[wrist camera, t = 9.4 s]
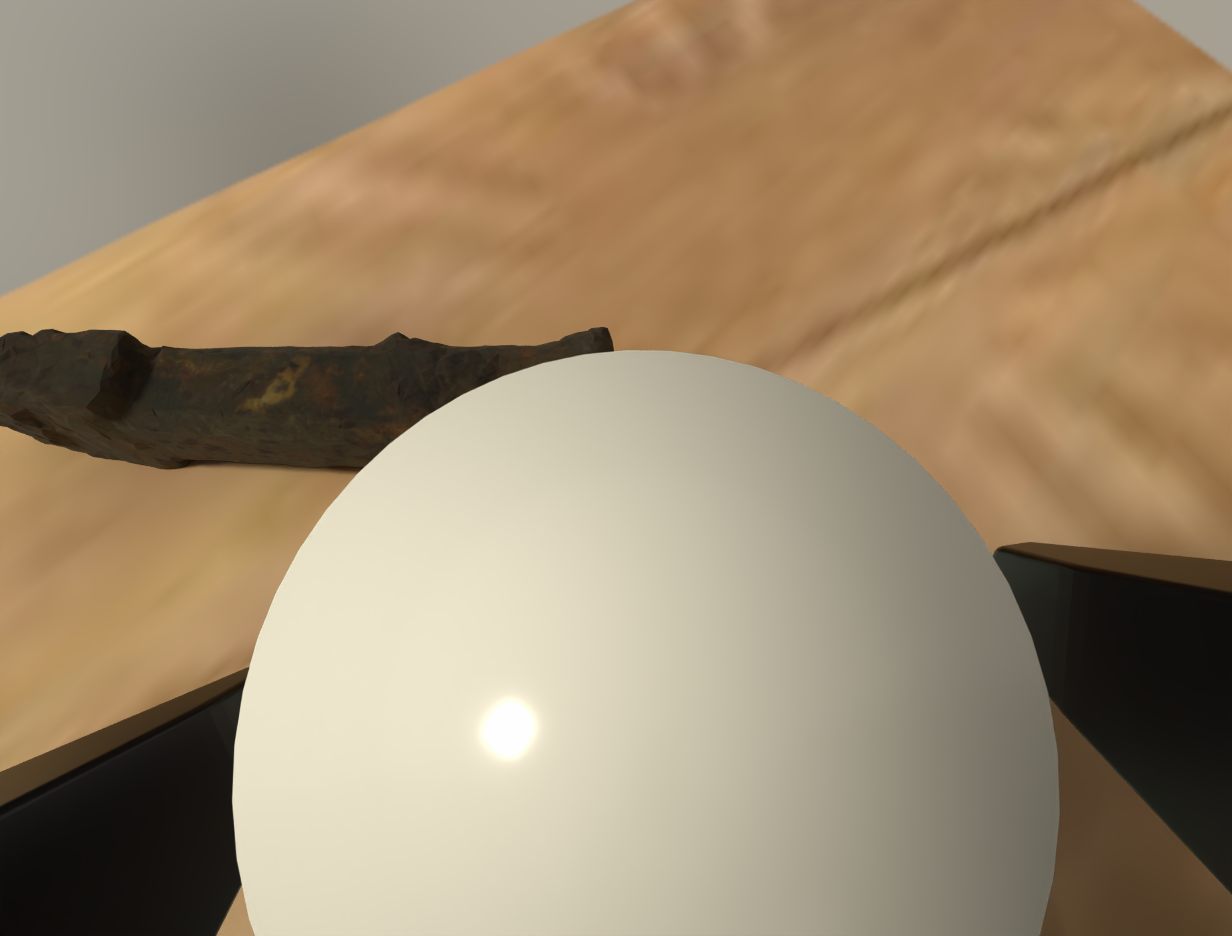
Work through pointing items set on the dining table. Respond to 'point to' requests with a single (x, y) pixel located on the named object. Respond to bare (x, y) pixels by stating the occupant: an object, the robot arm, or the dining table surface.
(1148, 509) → the dining table surface
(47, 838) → the robot arm
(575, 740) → the white rounded tapered cylinder
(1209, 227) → the dining table surface
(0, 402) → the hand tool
